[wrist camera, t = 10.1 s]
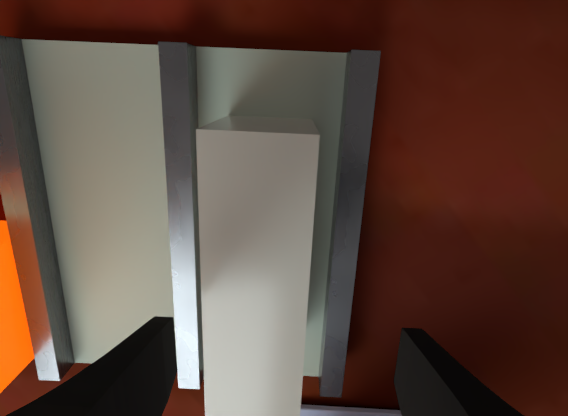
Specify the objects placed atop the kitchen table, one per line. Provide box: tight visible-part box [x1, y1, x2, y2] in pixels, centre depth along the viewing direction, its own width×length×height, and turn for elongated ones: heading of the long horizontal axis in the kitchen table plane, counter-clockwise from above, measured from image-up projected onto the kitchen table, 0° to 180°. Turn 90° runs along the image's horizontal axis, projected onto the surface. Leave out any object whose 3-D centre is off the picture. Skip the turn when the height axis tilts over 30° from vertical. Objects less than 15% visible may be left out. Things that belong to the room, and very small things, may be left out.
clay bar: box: [196, 115, 320, 416], centre depth 17 cm, size 12×4×6 cm, turn 178°
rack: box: [0, 36, 381, 397], centre depth 19 cm, size 18×17×2 cm
